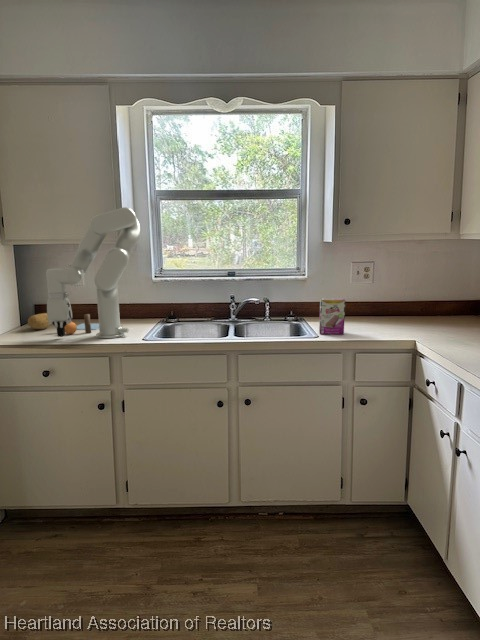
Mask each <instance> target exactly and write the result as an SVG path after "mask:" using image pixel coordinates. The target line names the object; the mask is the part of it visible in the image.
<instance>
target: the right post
mask: <svg viewBox="0 0 480 640" xmlns="http://www.w3.org/2000/svg"><path fill="white" fill-rule="evenodd" d="M83 317H84V318H83V320H84V323H85V330H84V331H85V334H91V333H92V330H91V324H92V323H91V314H90V313H87V314H84V315H83ZM90 323H91V324H90Z"/></svg>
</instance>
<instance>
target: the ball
mask: <svg viewBox="0 0 480 640" xmlns="http://www.w3.org/2000/svg"><path fill="white" fill-rule="evenodd" d="M77 326H78V325H77V324H76V323H75V322H73V321H72V323H69V324H67V325H66V326H65V334H67V335H74V334H75V333H76V331H78V329H77Z"/></svg>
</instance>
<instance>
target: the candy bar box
mask: <svg viewBox="0 0 480 640" xmlns="http://www.w3.org/2000/svg"><path fill="white" fill-rule="evenodd" d="M345 312H346V299H345V298H328V297H327V298H320V299H319V327H318V332H319V335H335V336H336V335H338V336H339V335H340V336H343V335H344V334H345V315H346V313H345Z"/></svg>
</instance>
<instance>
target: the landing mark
mask: <svg viewBox="0 0 480 640" xmlns="http://www.w3.org/2000/svg"><path fill="white" fill-rule="evenodd" d="M90 324H91V331H94V330H95V331H96V330H98V329H99V323H91V322H90ZM76 326H77V330H82V331H83V330H84V331H85V322H83V323H80V324H78V325H76Z"/></svg>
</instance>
